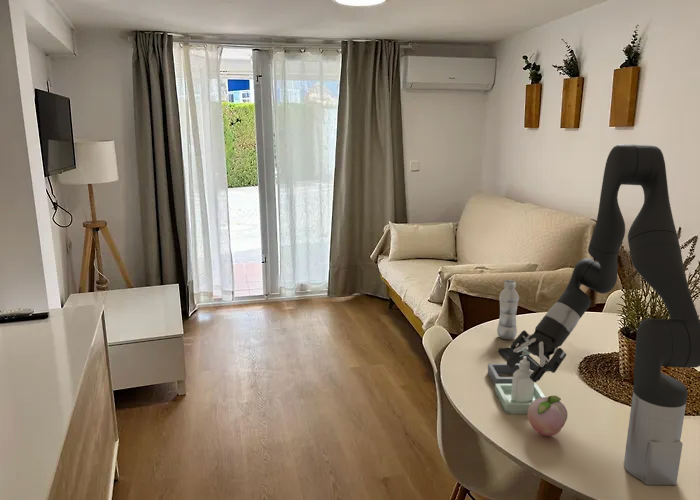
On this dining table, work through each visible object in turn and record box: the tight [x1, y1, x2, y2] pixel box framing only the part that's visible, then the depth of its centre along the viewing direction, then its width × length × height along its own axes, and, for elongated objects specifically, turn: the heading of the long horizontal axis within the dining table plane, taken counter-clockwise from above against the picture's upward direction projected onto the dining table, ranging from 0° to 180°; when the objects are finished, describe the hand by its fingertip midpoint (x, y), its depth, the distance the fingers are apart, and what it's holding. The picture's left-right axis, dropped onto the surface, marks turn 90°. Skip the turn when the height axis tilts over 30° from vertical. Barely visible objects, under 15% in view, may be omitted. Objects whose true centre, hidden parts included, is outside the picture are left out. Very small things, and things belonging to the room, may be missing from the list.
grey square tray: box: [487, 362, 520, 387], centre depth 146 cm, size 9×9×3 cm
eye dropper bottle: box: [511, 356, 535, 403], centre depth 133 cm, size 4×6×12 cm
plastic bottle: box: [496, 279, 520, 341], centre depth 174 cm, size 6×7×20 cm
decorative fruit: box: [527, 395, 569, 437], centre depth 119 cm, size 9×8×10 cm
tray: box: [494, 383, 546, 415], centre depth 134 cm, size 11×11×2 cm
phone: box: [497, 347, 540, 370], centre depth 159 cm, size 8×1×15 cm
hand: (520, 373), depth 132 cm, fingers open, 8 cm apart
